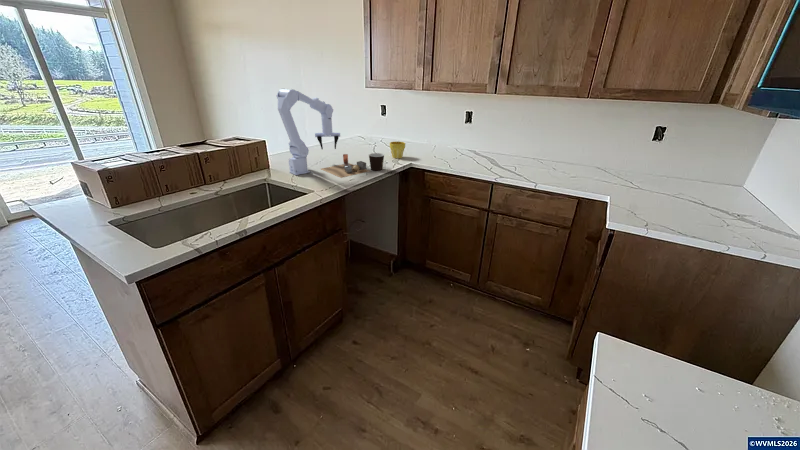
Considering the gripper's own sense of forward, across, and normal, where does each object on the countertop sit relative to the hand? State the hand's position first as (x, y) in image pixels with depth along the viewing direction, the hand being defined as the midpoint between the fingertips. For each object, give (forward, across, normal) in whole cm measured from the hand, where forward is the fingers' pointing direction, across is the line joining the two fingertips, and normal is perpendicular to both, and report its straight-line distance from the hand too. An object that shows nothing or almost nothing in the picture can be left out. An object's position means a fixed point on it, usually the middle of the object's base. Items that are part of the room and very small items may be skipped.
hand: (328, 148), depth 200 cm
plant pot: (+10, -45, -14) cm, 48 cm away
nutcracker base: (+10, -8, +17) cm, 22 cm away
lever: (+8, -10, +15) cm, 20 cm away
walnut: (+8, -15, +21) cm, 27 cm away
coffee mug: (+10, -27, +18) cm, 34 cm away
